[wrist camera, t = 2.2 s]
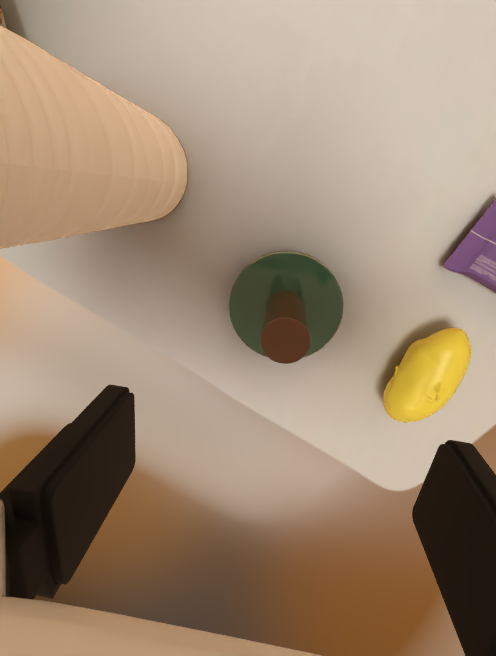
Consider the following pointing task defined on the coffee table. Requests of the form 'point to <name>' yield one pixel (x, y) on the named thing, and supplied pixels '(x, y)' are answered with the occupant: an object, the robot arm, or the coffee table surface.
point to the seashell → (2, 19)
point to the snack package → (478, 251)
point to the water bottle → (76, 152)
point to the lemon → (427, 375)
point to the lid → (286, 306)
